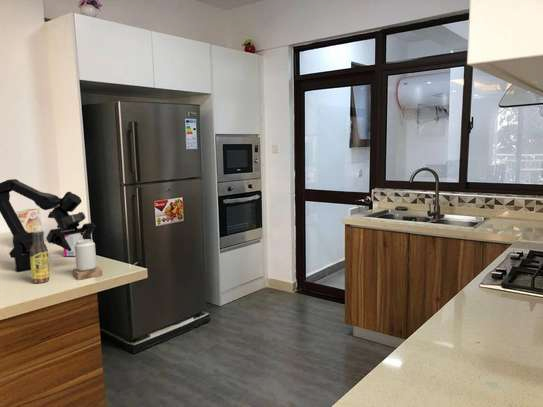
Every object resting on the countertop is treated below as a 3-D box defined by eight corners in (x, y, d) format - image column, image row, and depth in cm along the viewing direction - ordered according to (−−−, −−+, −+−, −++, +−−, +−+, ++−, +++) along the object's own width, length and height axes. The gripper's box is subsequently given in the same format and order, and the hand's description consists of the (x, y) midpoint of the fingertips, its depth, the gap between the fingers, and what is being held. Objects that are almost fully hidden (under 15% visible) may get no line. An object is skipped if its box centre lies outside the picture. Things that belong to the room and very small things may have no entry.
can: (72, 271, 168) (70, 242, 166) (83, 266, 175) (81, 238, 173) (89, 272, 166) (87, 242, 165) (100, 266, 174) (98, 238, 172)
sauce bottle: (37, 285, 160) (32, 233, 158) (28, 282, 163) (23, 232, 161) (54, 280, 166) (49, 230, 163) (45, 278, 169) (40, 229, 166)
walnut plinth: (78, 280, 165) (78, 274, 164) (73, 275, 172) (72, 269, 172) (102, 275, 170) (101, 269, 170) (96, 270, 177) (95, 265, 177)
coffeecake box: (28, 248, 223) (24, 212, 221) (15, 248, 224) (11, 212, 221) (43, 242, 238) (40, 208, 236) (31, 242, 238) (27, 208, 236)
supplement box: (81, 254, 208) (79, 231, 206) (75, 257, 202) (73, 233, 201) (70, 254, 209) (68, 231, 207) (63, 257, 203) (61, 233, 201)
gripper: (47, 209, 164) (66, 240, 159) (90, 203, 179) (108, 231, 175) (38, 227, 169) (56, 257, 165) (81, 220, 185) (98, 248, 180)
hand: (81, 248), depth 171 cm, fingers open, 9 cm apart
